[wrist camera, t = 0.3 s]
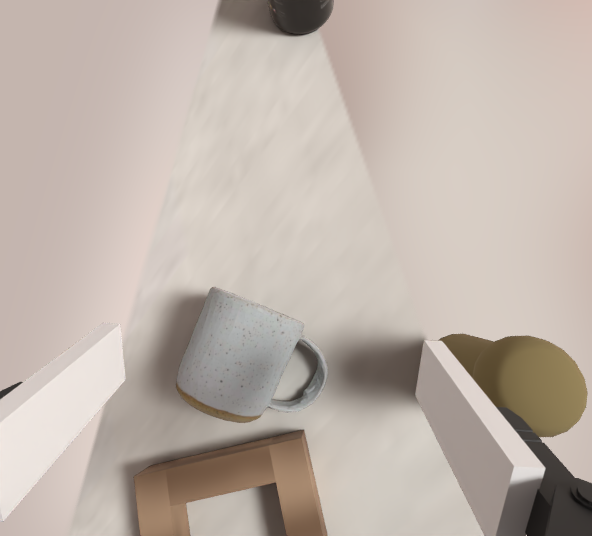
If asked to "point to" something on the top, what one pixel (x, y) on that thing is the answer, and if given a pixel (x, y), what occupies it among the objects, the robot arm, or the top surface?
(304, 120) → the top surface
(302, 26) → the supplement bottle
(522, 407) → the olive rounded upright piece
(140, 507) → the socket block
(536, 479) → the robot arm
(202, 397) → the ceramic mug
